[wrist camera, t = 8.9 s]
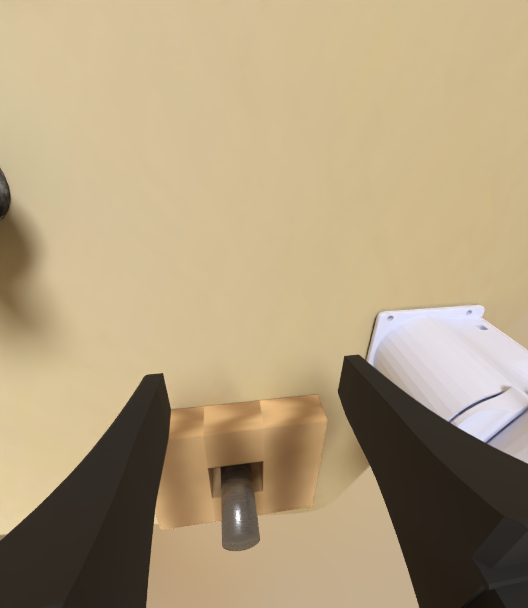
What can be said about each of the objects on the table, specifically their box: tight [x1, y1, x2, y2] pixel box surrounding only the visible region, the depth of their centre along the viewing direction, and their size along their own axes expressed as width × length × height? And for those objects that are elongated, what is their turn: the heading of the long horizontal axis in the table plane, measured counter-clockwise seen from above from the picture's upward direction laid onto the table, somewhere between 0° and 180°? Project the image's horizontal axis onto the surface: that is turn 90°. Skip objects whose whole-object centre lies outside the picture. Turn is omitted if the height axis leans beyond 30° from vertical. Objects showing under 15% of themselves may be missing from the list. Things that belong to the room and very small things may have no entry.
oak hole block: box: [155, 395, 328, 530], centre depth 29 cm, size 16×14×3 cm
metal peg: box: [220, 463, 260, 551], centre depth 27 cm, size 3×3×8 cm
